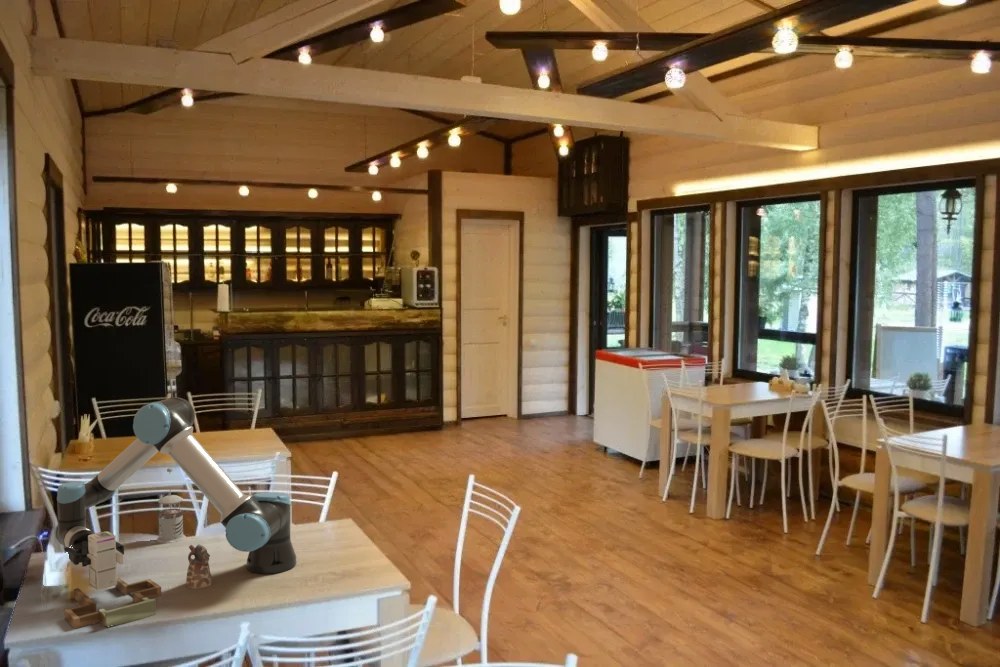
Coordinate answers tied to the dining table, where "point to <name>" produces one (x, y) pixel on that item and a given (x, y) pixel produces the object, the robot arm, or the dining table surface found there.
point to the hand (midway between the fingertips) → (109, 561)
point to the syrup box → (103, 560)
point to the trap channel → (121, 615)
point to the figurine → (198, 568)
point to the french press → (170, 519)
